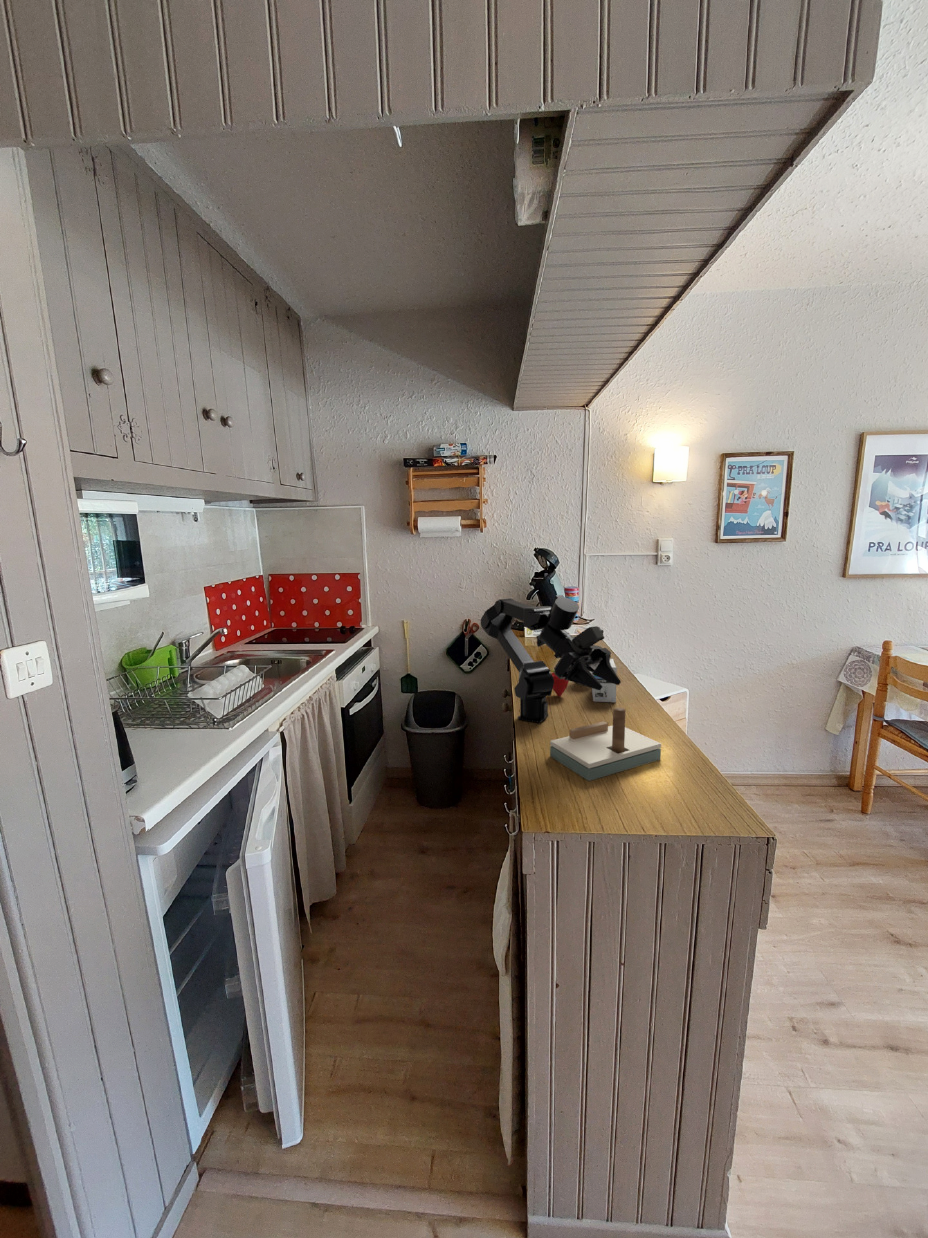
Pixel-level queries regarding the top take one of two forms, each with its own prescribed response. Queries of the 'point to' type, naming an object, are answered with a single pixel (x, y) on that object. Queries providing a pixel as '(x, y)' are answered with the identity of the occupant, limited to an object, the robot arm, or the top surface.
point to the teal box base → (605, 768)
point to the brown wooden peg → (618, 730)
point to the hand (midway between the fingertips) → (610, 686)
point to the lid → (601, 744)
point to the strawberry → (559, 684)
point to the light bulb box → (605, 688)
